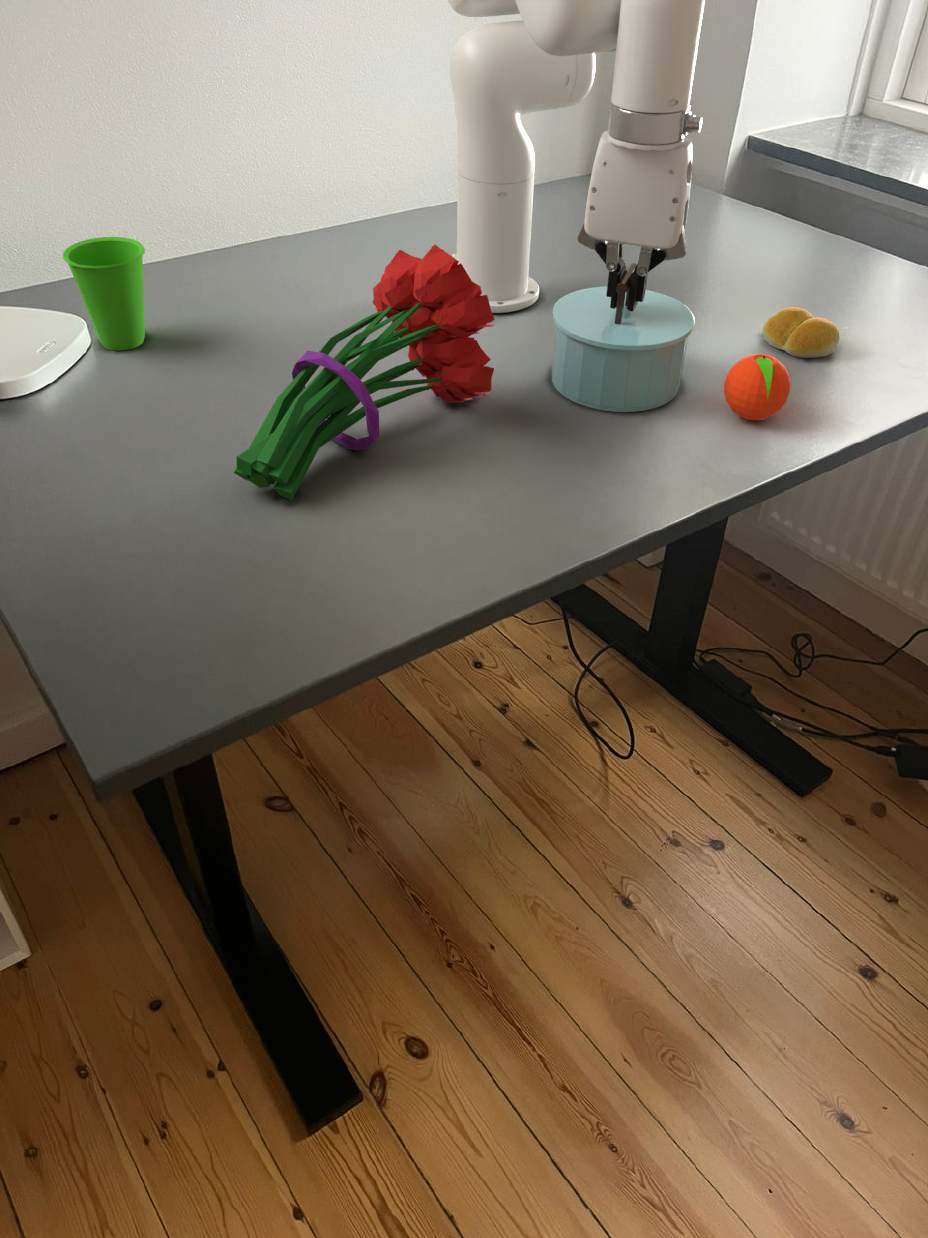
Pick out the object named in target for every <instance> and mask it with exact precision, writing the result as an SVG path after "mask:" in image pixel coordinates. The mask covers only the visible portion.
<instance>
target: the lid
mask: <svg viewBox="0 0 928 1238" xmlns="http://www.w3.org/2000/svg"><path fill="white" fill-rule="evenodd" d="M637 264H638V263H635V262H634V263H630V264H629V265H628V266H627V267H626V272H625V273H624V275H623V277H622V278H621V280H620V281H619V283H618V285H617V286H616V291H617V292H618V298H617V307H616V308H615V309H613V308H610V303H611V297H607V296H606V294H607V285H606V286H593V287H586V288H583V289H578V290H574V291H572V292H570V293H567V294H565V295H563V296H562V297H560V298H559V299H557V301H556V302H554V305H553V306H552V311H551V317H552V321H553V323H554V326H555V325H556V326H557V327H558V328H559V329H560V330H561V331H562V332H563V333H565V334H566V335H568V336H570V337H572V338H574V339H576V340H578V341H581V342H584V343H587V344H590V345H594V346H597V347H602V348H608V349H615V350H631V351H638V350H652V349H659V348H664V347H668V346H671V345H674V344H677V343H679V342H681V341H683V340H684V339H686V338H687V337H688V338H689V337H690V335H692V332H693V331H694V329H695V328H694V327H695V323H696V322H695V316H694V314H693V312H692V311H691V309H689V307H688V306H686V304H684V303H683V302H680V300H677V299H675V298H674V297H671V296H669V295H666V294H664V293H660V292H657V291H653V290H649V289H646V291H645V297H644V300H643V302H638V304H637V306H636V308H635V309H634V311H633V312H632V311H628V310H627V303H628V295H629V288H630V280H631V275H632V274H633V272H634V270H635V267H636V266H637Z"/></svg>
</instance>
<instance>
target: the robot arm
mask: <svg viewBox="0 0 928 1238" xmlns="http://www.w3.org/2000/svg"><path fill="white" fill-rule="evenodd" d="M447 2H448V4H449V5H450V7H451V9H452V10H453V11H454V12H455V13H457V14H458V15H460V16H464V17H467V18H487V17H498V16H499V17H500V16H501V17H502V16H510V15H511V16H512V15H520V16H521V20H513V21H512V20H511V21H501V22H493V23H486V24H483V25H480V26H479V25H478V26H476V27H473V28H472V29H469V30H468V31H466V32H465V33H464V34H462V35H461V36H460V37H459V39H458V40H457V41H456V43H455V44H454V45H453V48H452V51H451V54H450V60H449V76H450V85H451V90H452V95H453V102H454V110H455V119H456V121H455V122H456V133H457V134H456V135H457V136H456V137H457V138H456V139H457V169H456V170H457V171H456V172H457V194H456V195H457V196H456V197H457V201H456V203H457V205H456V208H457V209H456V213H457V214H456V253H452V254H451V256H452V257H454V258H455V259H456V260H458V261H459V263H458V264H462V266H463V267H464V269H465V270H466V272H467V274H468V275H469V277H470V279H471V281H472V282H474V283H476V284H477V285H479V286H481V291H482V294H481V295H480V296H483V295H487V296H488V300H489V304H490V308H491V311H492V314H503V313H511V312H517V311H521V310H524V309H526V308H528V307H530V306H532V305H534V304H535V303H536V302H537V301H538V299H539V297H540V286H539V284H538V283H537V281H536V280H535V279H533V278H532V277H530V276H529V273H530V272H529V271H530V256H531V241H532V239H531V238H532V221H533V206H534V204H533V203H534V189H535V171H536V170H535V169H536V154H535V150H534V146H533V143H532V141H531V139H530V137H529V135H528V134H527V132H526V130H525V128H524V126H523V124H522V121H521V116H522V115H526V114H530V113H531V114H532V113H537V112H544V111H550V110H558V109H564V108H568V107H572V106H575V105H577V104H579V103H580V102H582V101H583V100H584V99H586V97H588V95H589V93H590V91H591V89H592V87H593V84H594V80H595V76H596V53H609V52H615V57H614V67H613V76H612V77H613V78H612V86H611V96H610V107H609V115H608V124H607V125H608V127H607V130H605V131H603V132H602V134H601V136H600V138H599V142H598V144H597V145H598V146H597V149H596V152H595V153H596V154H595V157H594V161H593V165H592V170H591V174H590V175H591V176H590V181H589V187H588V193H587V198H586V205H585V213H584V222H583V224H582V226H581V229H580V231H579V233H578V235H577V242H578V243H579V244H581V245H583V246H585V247H587V248H588V249H590V250H594V251H595V252H596V254H597V255H598V256H599V258H600V259H601V260H602V261H603V263H604V264H605V268H606V270H607V271H608V275H607V276H608V278H607V285H606V286H607V294H606V296H607V297H611V303H610V308H613V309H615V308H616V307H617V298H618V292H617V291H616V286H617V285H618V283H619V281H620V280H621V278H622V277H623V275H624V273H625V272H626V270H627V265H626V263H625V260H624V259H623V257H624V245H630V246H636V247H640V251H639V255H638V260H637V263H636V264H637V266H636V267H635V270H634V272H633V274H632V275H631V280H630V288H629V295H628V303H627V310H628V311H632V312H633V311H634V309H635V308H636V306H637V304H638V302H643V300H644V297H645V291H646V290H647V285H648V284H647V282H648V277H649V272H651V271H652V270H654V269H655V268H656V267H657V266H659V265H660V264H661V263H663V262H665V261H672V260H679V259H682V258H684V257H685V256H686V255H687V253H688V249H689V248H688V243H687V236H686V226H687V222H688V214H689V208H690V207H689V205H690V197H691V187H692V178H693V177H692V175H693V142H692V140H691V139H689V138H687V135H689V134H692V133H700V132H701V129H702V125H703V117H701V116H696V115H695V114H692V111H690V110H691V105H690V101H691V95H692V89H693V81H694V76H695V69H696V62H697V56H698V48H699V41H700V35H701V27H702V21H703V14H704V9H705V0H447ZM685 136H686V137H685ZM458 264H457V265H458Z"/></svg>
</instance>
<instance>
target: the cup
mask: <svg viewBox="0 0 928 1238" xmlns="http://www.w3.org/2000/svg"><path fill="white" fill-rule="evenodd" d="M145 253H146V248H145V247H144V245H143V244H142V243H141V242H140V241H138V240H135V239H133V238H129V237H120V236H102V237H101V236H100V237H94V238H90V239H84V240H82V241H78V242H76V243H73V244H71V245H70V246H68V247H66V248H65V249H64V250H63V253H62V259H63V261H64V262H65V263H66V264H68V267H69V270H70V272H71V274H72V277H73V279H74V282H75V283H76V286H77V289H78V291H79V294H80V296H81V299H82V301H83V304H84V306H85V308H86V311H87V313H88V315H89V316H88V317H89V318H90V320H91V323H92V325H93V327H94V328H93V329H94V331H95V333H96V335H97V337H98V340H99V343H100V344H102V346H103V347H104V348H105V349H108V350H109V351H110V350H111V351H128V350H133V349H134V348H138V347H140V346H141V345H143V343H144V341H145V337H146V328H145V324H146V323H145V297H144V296H145V295H144V293H145V292H144V267H143V266H144V264H143V256H144V254H145Z"/></svg>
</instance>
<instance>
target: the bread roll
mask: <svg viewBox="0 0 928 1238" xmlns="http://www.w3.org/2000/svg"><path fill="white" fill-rule="evenodd" d="M762 335H763V337H764V339H765V341H766V342H767V343H768V344H769V345H770V346H772V347H773V348H776V349H778V350H780V351H785V352H786V354H789V355H790V356H792V357H796V358H801V359H807V358H808V359H815V358H823V357H827V356H829V355H831V354H833V353H834V352H835V351H836V350H837V347H838V344H839V342H840V331H839V329H838V327H837V326H836V325H835V323H834V322H833V321H831V320H829V319H827V318H823V317H815V316H814V315H813V314H812V313H811V312H809V311H808V310H807V309H804V308H802V307H799V306H789V307H784V308H782V309H780V310H779V311H777V312H776V313H774V314H773V315H771V316H769V317H768V318H767V319H766V320H765V321H764V322H763V325H762Z"/></svg>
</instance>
